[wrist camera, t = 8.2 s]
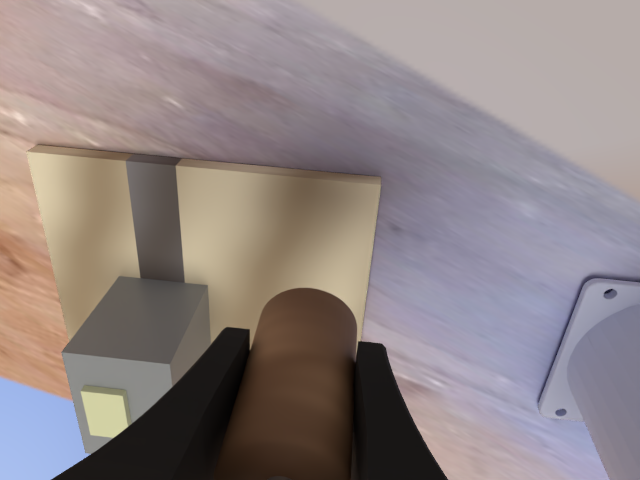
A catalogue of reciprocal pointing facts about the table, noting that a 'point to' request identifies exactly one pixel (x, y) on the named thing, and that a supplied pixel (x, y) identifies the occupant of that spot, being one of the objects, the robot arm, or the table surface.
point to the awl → (295, 393)
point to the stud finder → (133, 352)
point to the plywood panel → (202, 230)
